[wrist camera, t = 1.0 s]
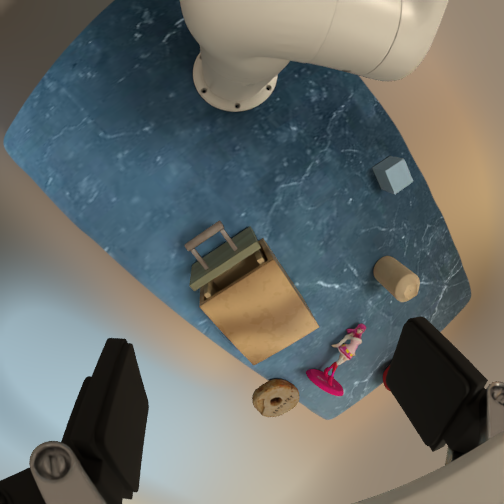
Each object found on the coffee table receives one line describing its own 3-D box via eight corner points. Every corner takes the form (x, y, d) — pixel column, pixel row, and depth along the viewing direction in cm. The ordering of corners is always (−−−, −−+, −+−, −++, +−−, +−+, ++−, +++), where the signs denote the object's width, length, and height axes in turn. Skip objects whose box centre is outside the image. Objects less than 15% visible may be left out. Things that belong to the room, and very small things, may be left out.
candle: (383, 251, 53) (412, 272, 44) (400, 262, 55) (428, 284, 46) (367, 274, 55) (394, 300, 45) (385, 285, 56) (411, 309, 47)
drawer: (173, 242, 47) (167, 260, 40) (233, 201, 45) (237, 212, 39) (237, 320, 53) (241, 345, 47) (291, 287, 52) (302, 308, 46)
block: (389, 155, 47) (404, 158, 42) (399, 177, 48) (413, 181, 44) (371, 167, 47) (384, 171, 43) (381, 189, 49) (394, 194, 45)
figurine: (305, 381, 54) (348, 317, 53) (305, 365, 63) (341, 309, 62) (345, 402, 52) (388, 340, 51) (340, 384, 62) (376, 330, 61)
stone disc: (304, 389, 64) (277, 369, 61) (308, 399, 61) (280, 380, 58) (270, 412, 65) (242, 394, 62) (273, 423, 62) (244, 405, 59)
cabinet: (200, 278, 50) (199, 306, 42) (262, 237, 49) (273, 259, 41) (247, 333, 56) (253, 365, 47) (303, 299, 55) (319, 327, 46)
